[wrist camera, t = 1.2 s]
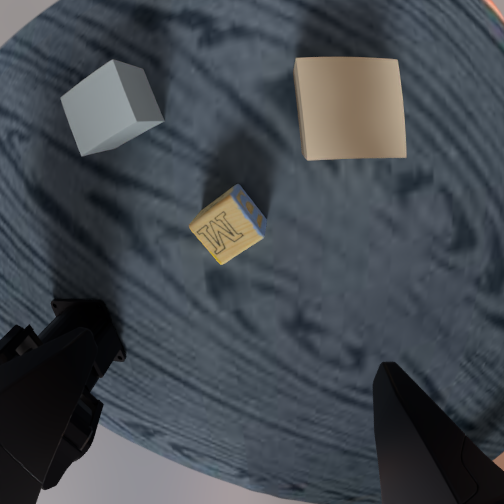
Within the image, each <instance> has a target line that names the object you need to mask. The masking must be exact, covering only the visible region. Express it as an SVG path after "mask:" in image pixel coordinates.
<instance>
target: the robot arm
mask: <svg viewBox="0 0 504 504" xmlns="http://www.w3.org/2000/svg"><path fill="white" fill-rule="evenodd" d="M51 306H52V308H53V311H54V313H55V315H56V318H55V319H54V320H53V321H52V322H51V323H50V324H49V325H48V326H47V327H46V328H45V329H44V330H43V331H42V332H41V333H40V334H39V335H38V336H37V335H36V333H35V332H34V331H33V330H34V329H33V328H32V327H31V326H30V324H29V325H28V326H27V327H26V328H25V329H24V328H23V327H20V326H18V325H17V324H16V325H15V326H14V327H13V328H12V329H11V330H10V331H9V332H8V333H7V334H6V335H5V336H4V337H3V338H2V339H1V340H0V504H36V502H37V499H38V496H39V493H40V490H41V488H42V489H43V490H47V489H49V488H52V487H54V486H56V485H57V484H58V482H59V480H60V479H61V477H62V476H63V474H64V473H65V471H66V469H67V468H68V467H69V466H70V465H71V464H72V462H74V461H76V460H78V459H80V458H81V457H82V456H83V455H84V454H85V453H86V452H87V451H88V449H89V448H90V446H91V444H92V442H93V439H94V436H95V433H96V429H97V425H98V422H99V418H100V415H101V411H102V408H103V405H104V404H103V403H102V402H101V401H100V400H97V399H96V398H95V397H94V396H93V395H92V394H91V393H90V392H91V390H92V388H93V387H94V385H95V384H96V382H97V380H98V379H99V378H102V377H103V376H104V374H105V373H106V371H107V370H108V368H109V366H110V365H111V363H112V362H113V361H119V362H124V361H125V359H126V354H125V352H124V350H123V348H122V345H121V343H120V341H119V338H118V336H117V333H116V331H115V329H114V326H113V324H112V321H111V319H110V316H109V313H108V311H107V308H106V305H105V303H104V302H103V301H101V300H83V299H54V300H52V301H51ZM373 407H374V433H375V441H376V449H377V457H378V465H379V475H380V485H381V496H382V504H504V471H503V470H502V469H501V468H499V467H498V466H497V465H496V464H495V463H494V462H493V461H492V460H490V459H489V458H488V457H487V456H486V455H485V454H484V453H483V452H482V451H481V450H480V449H479V448H478V447H477V446H476V445H475V444H474V443H473V442H472V441H471V440H470V439H469V438H468V437H467V436H465V434H464V433H463V431H462V430H461V429H460V428H459V427H458V426H457V425H456V424H455V423H454V422H453V421H452V420H451V419H450V418H449V417H448V416H447V415H446V414H445V413H444V412H443V410H442V409H441V408H440V407H439V406H438V405H437V404H436V403H435V402H434V401H433V400H432V399H431V398H430V397H429V396H428V395H427V394H426V393H425V392H424V391H423V390H422V389H421V388H420V387H419V386H418V385H417V384H416V383H415V382H414V381H413V380H412V379H411V378H410V377H409V376H408V374H407V373H406V372H405V371H404V370H403V369H402V368H401V367H400V366H399V365H398V364H397V363H395V362H382V363H381V364H380V366H379V369H378V371H377V374H376V376H375V378H374V381H373Z"/></svg>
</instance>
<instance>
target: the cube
mask: <svg viewBox="0 0 504 504" xmlns="http://www.w3.org/2000/svg"><path fill="white" fill-rule="evenodd" d="M60 99H61V102H62V105H63V108H64V111H65V113H66V116H67V119H68V122H69V125H70V128H71V130H72V133H73V136H74V138H75V141H76V144H77V146H78V149H79V151H80V154H81V156H85V155H89V154H94V153H98V152H102V151H107V150H112V149H115V148H117V147H119V146H121V145H122V144H124V143H126V142H127V141H129V140H131V139H133V138H134V137H136V136H138V135H140V134H142V133H143V132H145V131H147V130H149V129H151V128H153V127H154V126H156V125H158V124H160V123H162V122H164V119H163V116H162V114H161V111H160V109H159V107H158V104H157V102H156V99H155V97H154V94H153V92H152V89H151V87H150V84H149V82H148V79H147V77H146V75H145V72H144V70H143V69H142V68H139V67H136V66H133V65H130V64H127V63H123V62H120V61H117V60H113V59H112V60H111V61H109V62H108V63H106V64H105V65H103V66H102V67H100V68H99V69H98V70H96V71H95V72H93V73H92V74H91V75H89V76H88V77H87V78H85V79H84V80H83V81H81V82H80V83H79V84H77V85H76V86H75V87H73V88H72V89H71V90H70V91H68V92H67V93H66V94H65V95H63V96H62V97H61V98H60Z"/></svg>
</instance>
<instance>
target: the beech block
mask: <svg viewBox="0 0 504 504" xmlns="http://www.w3.org/2000/svg"><path fill="white" fill-rule="evenodd" d="M293 76H294V84H295V92H296V100H297V109H298V118H299V127H300V137H301V148H302V154H303V156H304V157H305V158H306V159H307V161H308V160H326V159H349V158H406V136H405V120H404V108H403V98H402V89H401V80H400V73H399V66H398V60H396V59H384V58H366V57H306V58H296V60H295V65H294V70H293Z"/></svg>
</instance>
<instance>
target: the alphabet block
mask: <svg viewBox="0 0 504 504" xmlns="http://www.w3.org/2000/svg"><path fill="white" fill-rule="evenodd" d="M266 224H267V220H266V218H265V216H264V215H263V214H262V213H261V211H260V210H259V209H258V207H257V206H256V205H255V204H254V202H253V201H252V200H251V198H250V197H249V196H248V195H247V193H246V192H245V191H244V189H243V188H242V187H241V186H240V185H239V184H236V185H235V186H233V187H232V188H230V189H229V190H228V191H226V192H225V193H224V194H222V195H221V196H220V197H218V198H217V199H216V200H214V201H213V202H212V203H211V204H209V205H208V206H206V207H205V208H204V209H202V210H201V211H200V212H199V214H198V215H197V216H196V217H195V218H194V220H193V221H192V222H191V223H190V225H189V228H190V229H191V231H192V232H193V233H194V234H195V235H196V236H197V238H198V239H199V240H200V241H201V242H202V244H203V245H204V246H205V247H206V248H207V249H208V251H209V252H210V253H211V254H212V256H213V257H214V258H215V259H216V260H217V262H218V263H219V264H221V265H222V264H224V263H226V262H228V261H229V260H230V259H232V258H233V257H235V256H236V255H238V254H239V253H241V252H243V251H244V250H246V249H247V248H249V247H250V246H252V245H254V244H255V243H257V242H258V241H260V240H261V239H263V238H264V236H265V231H266Z"/></svg>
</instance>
